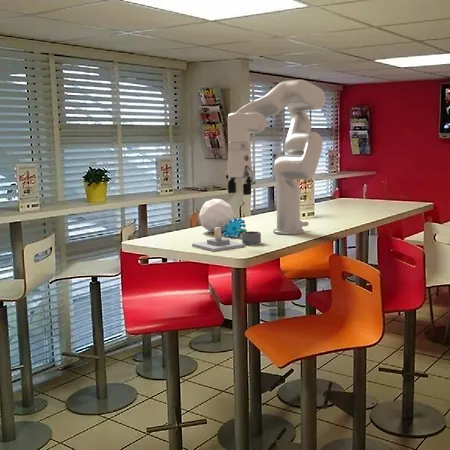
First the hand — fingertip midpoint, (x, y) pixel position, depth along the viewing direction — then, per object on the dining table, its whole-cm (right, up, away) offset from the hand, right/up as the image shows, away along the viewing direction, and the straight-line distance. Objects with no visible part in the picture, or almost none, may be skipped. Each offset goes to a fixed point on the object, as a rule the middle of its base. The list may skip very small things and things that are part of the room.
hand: (239, 193), depth 219 cm
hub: (+5, -18, +3) cm, 19 cm away
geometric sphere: (-9, -15, +33) cm, 37 cm away
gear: (-1, -17, +19) cm, 25 cm away
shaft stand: (-8, -19, -2) cm, 21 cm away
